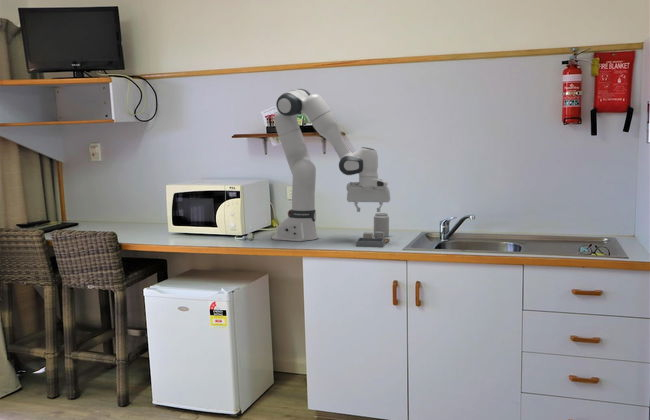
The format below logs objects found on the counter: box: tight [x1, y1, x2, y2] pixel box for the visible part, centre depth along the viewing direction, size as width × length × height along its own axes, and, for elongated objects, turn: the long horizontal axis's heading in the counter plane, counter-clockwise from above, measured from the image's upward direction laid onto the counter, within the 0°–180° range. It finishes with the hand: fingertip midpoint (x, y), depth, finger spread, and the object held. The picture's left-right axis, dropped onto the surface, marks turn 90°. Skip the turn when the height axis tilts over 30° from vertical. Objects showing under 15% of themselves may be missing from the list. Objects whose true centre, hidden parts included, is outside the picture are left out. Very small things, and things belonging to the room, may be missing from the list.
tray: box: [384, 237, 390, 245], centre depth 295 cm, size 14×11×1 cm
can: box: [373, 212, 390, 238], centre depth 308 cm, size 8×8×12 cm
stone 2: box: [374, 231, 385, 239], centre depth 296 cm, size 4×4×4 cm
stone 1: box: [362, 231, 374, 238], centre depth 293 cm, size 4×4×4 cm
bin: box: [355, 237, 386, 249], centre depth 283 cm, size 12×9×3 cm
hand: (368, 211), depth 291 cm, fingers open, 8 cm apart
